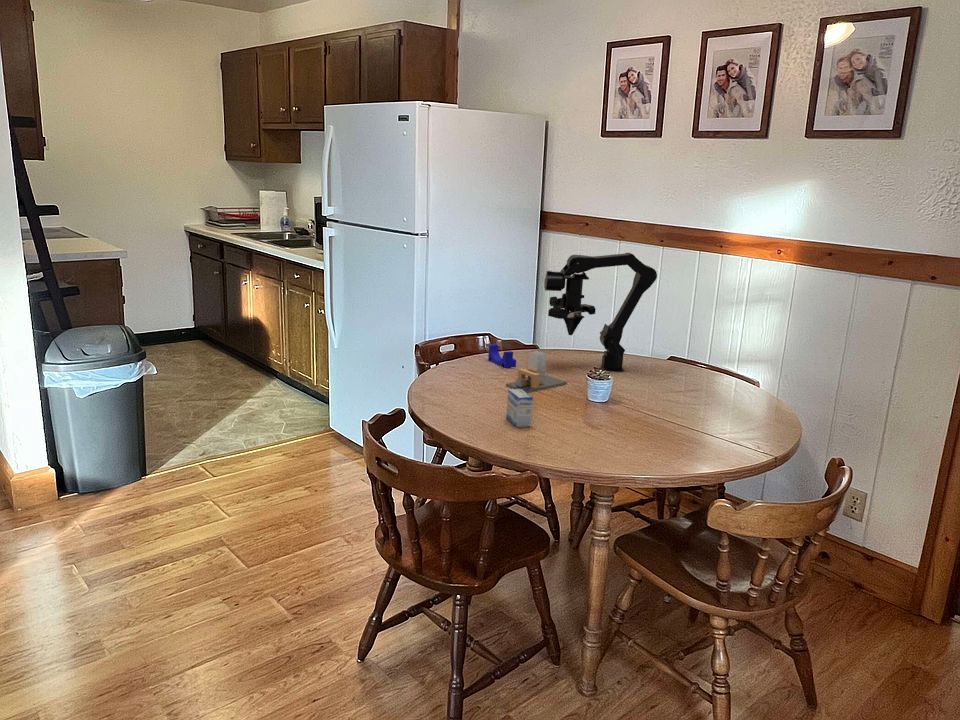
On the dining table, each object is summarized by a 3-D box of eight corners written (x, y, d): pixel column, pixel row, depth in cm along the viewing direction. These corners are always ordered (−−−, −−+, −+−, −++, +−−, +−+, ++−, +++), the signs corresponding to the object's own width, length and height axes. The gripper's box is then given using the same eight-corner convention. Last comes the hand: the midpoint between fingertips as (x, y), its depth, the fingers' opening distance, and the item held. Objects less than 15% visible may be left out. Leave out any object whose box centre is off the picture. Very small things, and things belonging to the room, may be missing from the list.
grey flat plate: (547, 377, 254) (547, 375, 254) (566, 384, 248) (567, 381, 248) (505, 386, 242) (505, 383, 242) (525, 393, 236) (525, 391, 236)
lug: (521, 381, 246) (522, 368, 245) (538, 387, 240) (539, 374, 239) (517, 382, 245) (518, 369, 244) (534, 388, 239) (535, 375, 238)
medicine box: (505, 418, 212) (507, 389, 210) (520, 417, 214) (522, 388, 211) (516, 427, 205) (518, 397, 203) (531, 426, 207) (533, 396, 204)
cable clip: (515, 368, 265) (516, 351, 264) (504, 369, 263) (505, 352, 261) (498, 359, 275) (499, 343, 274) (488, 360, 273) (488, 344, 271)
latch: (535, 380, 247) (537, 350, 245) (544, 383, 244) (546, 353, 242) (513, 384, 241) (515, 354, 238) (522, 387, 238) (524, 357, 235)
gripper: (575, 286, 273) (571, 327, 277) (538, 289, 261) (535, 333, 265) (598, 290, 265) (594, 333, 269) (561, 295, 253) (558, 339, 257)
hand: (570, 335), depth 265 cm, fingers closed
